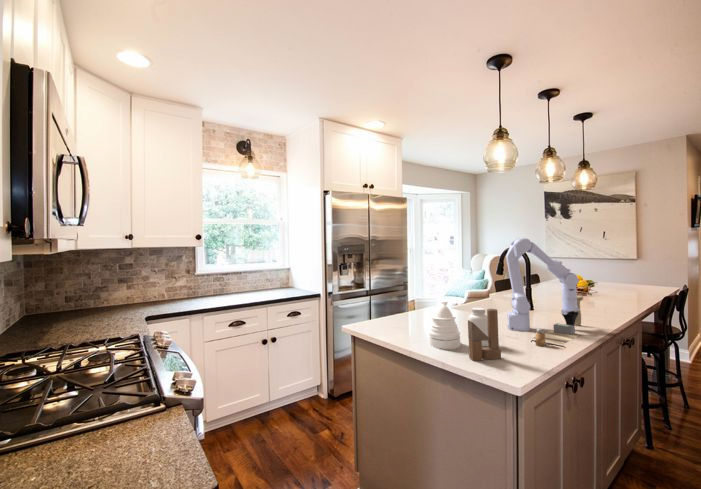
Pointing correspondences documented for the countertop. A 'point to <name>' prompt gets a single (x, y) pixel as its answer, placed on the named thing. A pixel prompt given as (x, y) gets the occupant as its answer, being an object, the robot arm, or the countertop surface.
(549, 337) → the panel
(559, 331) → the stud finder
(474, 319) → the pill bottle
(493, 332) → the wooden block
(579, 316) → the handle
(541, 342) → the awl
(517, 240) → the robot arm
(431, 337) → the honey pot
